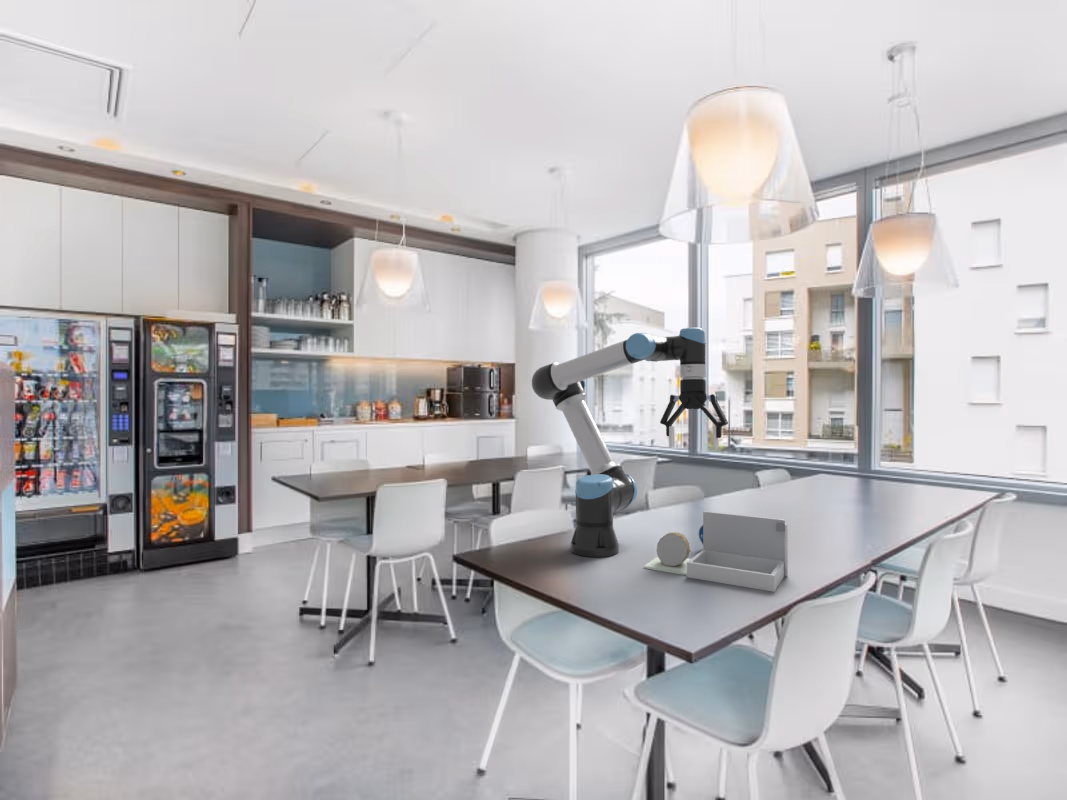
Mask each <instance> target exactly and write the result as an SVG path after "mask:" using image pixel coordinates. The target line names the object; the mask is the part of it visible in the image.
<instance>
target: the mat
mask: <svg viewBox="0 0 1067 800" xmlns="http://www.w3.org/2000/svg"><path fill="white" fill-rule="evenodd" d="M691 559H692V558H689V557H688V558H687V559H686V560H685V561H684V562H683V563H681V564H679V565H676V566H667V565H665V564H663V563H662V562H661V561H660V559H659V557H658V556H657V557H655V558H653V559H651V561H648V562H647V563H646V564H644V565H643V569H647V570H651V571H652V570H653V571H658V572H664V573H671V574H677V575H682V576H687V562H688V561H689V560H691ZM705 564H706V563H705Z"/></svg>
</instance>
